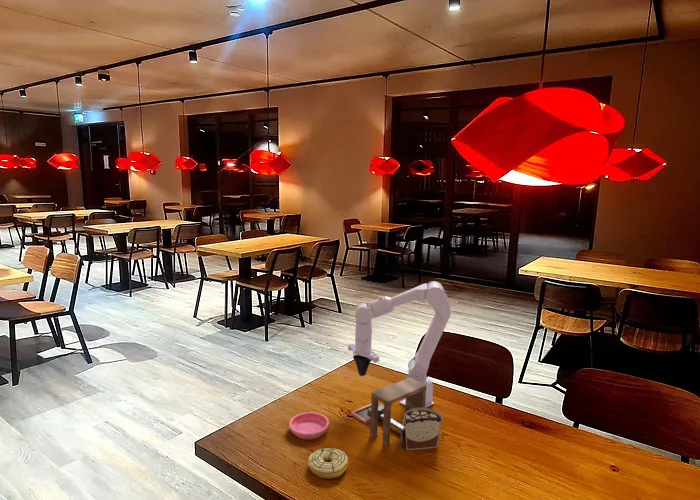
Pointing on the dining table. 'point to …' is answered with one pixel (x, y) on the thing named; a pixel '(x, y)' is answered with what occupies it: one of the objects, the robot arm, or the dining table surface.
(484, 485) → the dining table surface
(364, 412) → the picture frame
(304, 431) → the pink shallow round bowl
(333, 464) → the decorated donut
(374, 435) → the tunnel
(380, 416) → the grey piece
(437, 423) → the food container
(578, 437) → the dining table surface
